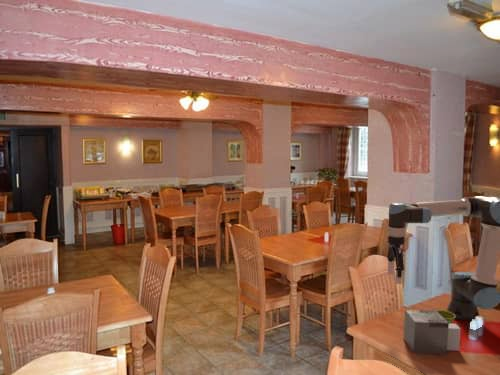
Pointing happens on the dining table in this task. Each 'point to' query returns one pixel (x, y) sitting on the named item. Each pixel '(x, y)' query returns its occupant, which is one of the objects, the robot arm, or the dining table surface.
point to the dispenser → (426, 332)
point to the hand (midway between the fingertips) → (394, 278)
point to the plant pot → (447, 316)
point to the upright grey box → (453, 337)
